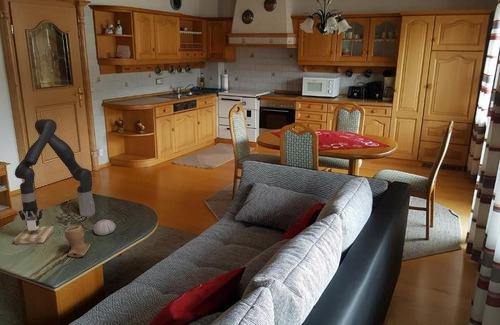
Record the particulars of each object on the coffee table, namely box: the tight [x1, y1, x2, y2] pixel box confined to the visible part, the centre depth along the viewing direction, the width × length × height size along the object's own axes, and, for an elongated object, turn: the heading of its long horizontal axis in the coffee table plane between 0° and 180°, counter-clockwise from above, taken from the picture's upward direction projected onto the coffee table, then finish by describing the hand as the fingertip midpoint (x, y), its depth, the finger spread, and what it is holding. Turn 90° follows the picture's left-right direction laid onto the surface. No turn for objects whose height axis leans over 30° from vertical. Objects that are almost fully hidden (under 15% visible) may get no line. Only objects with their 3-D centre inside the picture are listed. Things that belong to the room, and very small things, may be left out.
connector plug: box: [25, 216, 40, 230], centre depth 245 cm, size 5×5×8 cm
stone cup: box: [64, 224, 91, 259], centre depth 229 cm, size 15×12×15 cm
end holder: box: [14, 225, 55, 246], centre depth 248 cm, size 16×16×4 cm
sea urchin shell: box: [93, 218, 116, 236], centre depth 256 cm, size 13×14×8 cm
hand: (33, 225), depth 246 cm, fingers closed on connector plug, 4 cm apart
